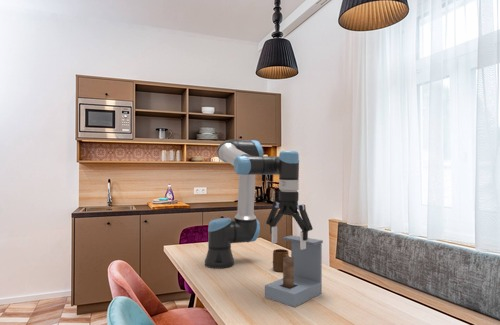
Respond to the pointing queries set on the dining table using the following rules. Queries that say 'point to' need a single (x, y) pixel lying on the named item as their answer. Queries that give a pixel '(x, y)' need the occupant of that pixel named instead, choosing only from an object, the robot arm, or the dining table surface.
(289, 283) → the peg
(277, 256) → the mug
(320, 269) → the socket station
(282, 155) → the robot arm
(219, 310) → the dining table surface
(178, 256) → the dining table surface
